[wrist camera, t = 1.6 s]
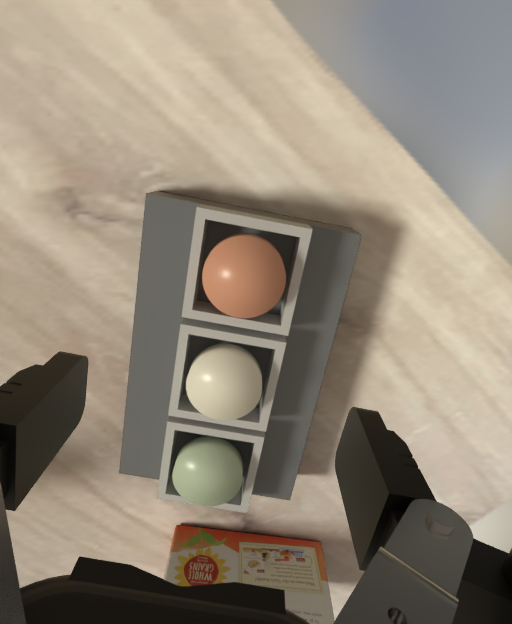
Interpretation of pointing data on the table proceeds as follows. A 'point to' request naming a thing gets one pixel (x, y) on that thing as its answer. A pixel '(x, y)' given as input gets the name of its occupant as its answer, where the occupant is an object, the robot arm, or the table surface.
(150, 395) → the button panel
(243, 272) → the terracotta button
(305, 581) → the cracker box
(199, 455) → the sage button
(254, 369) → the cream button
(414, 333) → the table surface
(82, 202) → the table surface
